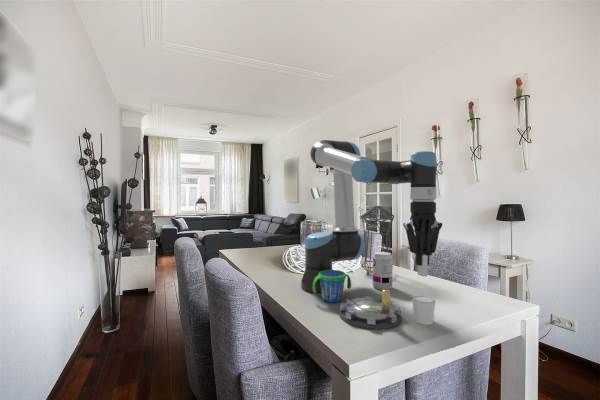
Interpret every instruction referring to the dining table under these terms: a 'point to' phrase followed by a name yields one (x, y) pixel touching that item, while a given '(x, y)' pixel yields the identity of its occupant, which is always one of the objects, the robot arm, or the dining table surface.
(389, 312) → the sprocket
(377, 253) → the supplement can
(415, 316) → the shot glass
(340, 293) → the snack cup
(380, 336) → the dining table surface
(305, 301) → the dining table surface
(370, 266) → the geometric lantern
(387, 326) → the sprocket base
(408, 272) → the dining table surface
